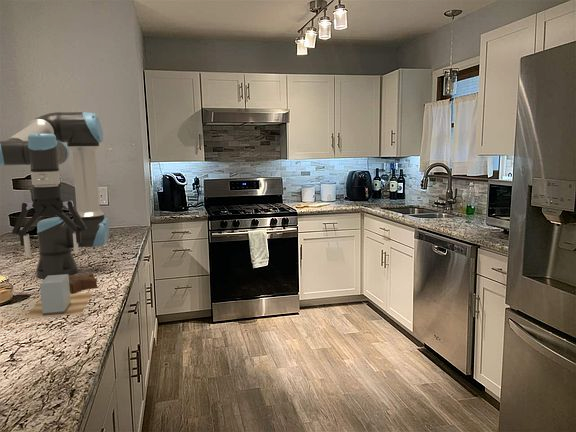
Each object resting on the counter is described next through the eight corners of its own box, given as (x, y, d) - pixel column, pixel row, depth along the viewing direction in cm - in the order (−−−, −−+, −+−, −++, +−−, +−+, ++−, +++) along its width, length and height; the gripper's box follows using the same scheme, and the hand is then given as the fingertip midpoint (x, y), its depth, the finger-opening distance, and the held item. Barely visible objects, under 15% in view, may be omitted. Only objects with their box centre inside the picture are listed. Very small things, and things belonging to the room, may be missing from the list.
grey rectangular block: (50, 305, 146) (47, 275, 144) (70, 304, 147) (68, 274, 146) (42, 315, 137) (39, 283, 136) (64, 313, 139) (61, 281, 137)
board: (43, 297, 156) (43, 296, 156) (93, 293, 160) (93, 292, 160) (23, 320, 135) (22, 318, 135) (81, 315, 139) (81, 313, 139)
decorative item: (63, 286, 155) (44, 273, 164) (63, 303, 157) (44, 289, 166) (106, 277, 167) (86, 265, 176) (106, 292, 168) (86, 280, 178)
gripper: (-5, 188, 130) (2, 260, 134) (88, 185, 136) (94, 254, 139) (4, 185, 138) (11, 254, 141) (93, 183, 143) (98, 249, 147)
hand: (52, 254), depth 140 cm, fingers open, 13 cm apart
